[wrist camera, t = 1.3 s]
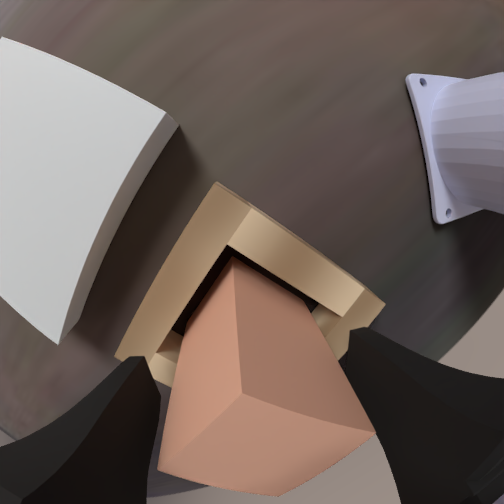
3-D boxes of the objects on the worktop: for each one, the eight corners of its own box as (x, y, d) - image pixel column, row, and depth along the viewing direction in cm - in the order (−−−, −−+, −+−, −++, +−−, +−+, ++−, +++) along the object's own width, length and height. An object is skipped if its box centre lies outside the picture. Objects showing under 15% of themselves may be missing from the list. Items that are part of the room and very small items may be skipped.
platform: (179, 125, 10) (166, 112, 8) (79, 320, 12) (58, 344, 10) (25, 48, 7) (2, 36, 5) (-38, 210, 9) (-62, 218, 7)
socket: (364, 285, 13) (385, 304, 11) (264, 398, 14) (269, 425, 12) (217, 181, 11) (214, 183, 9) (127, 331, 12) (114, 356, 10)
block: (303, 300, 13) (376, 432, 5) (254, 357, 14) (278, 496, 6) (232, 255, 12) (242, 392, 4) (186, 322, 13) (157, 469, 5)
